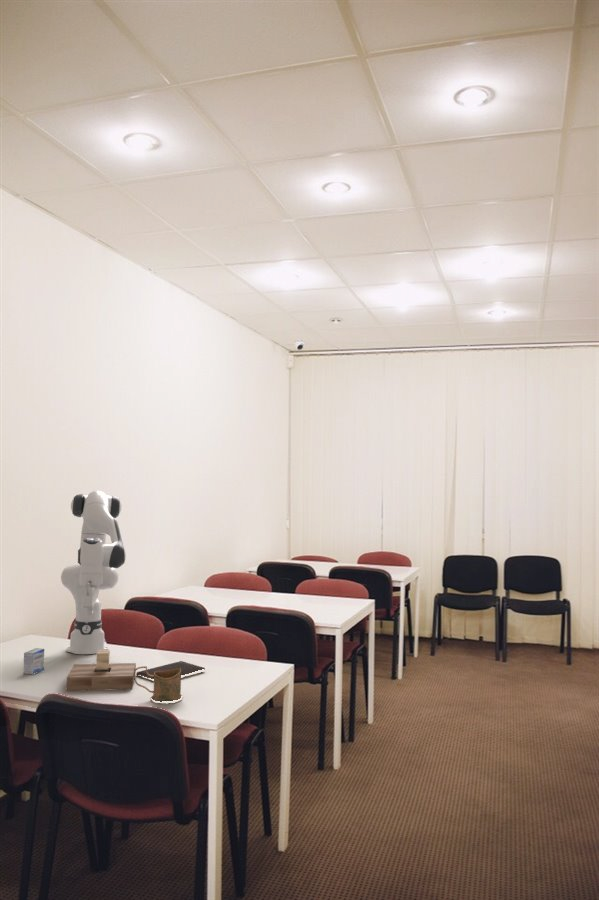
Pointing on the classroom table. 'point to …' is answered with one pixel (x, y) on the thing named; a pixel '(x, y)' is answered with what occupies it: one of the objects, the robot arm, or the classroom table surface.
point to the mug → (165, 684)
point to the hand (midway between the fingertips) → (90, 614)
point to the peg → (102, 661)
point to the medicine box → (34, 661)
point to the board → (101, 677)
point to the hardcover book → (184, 666)
